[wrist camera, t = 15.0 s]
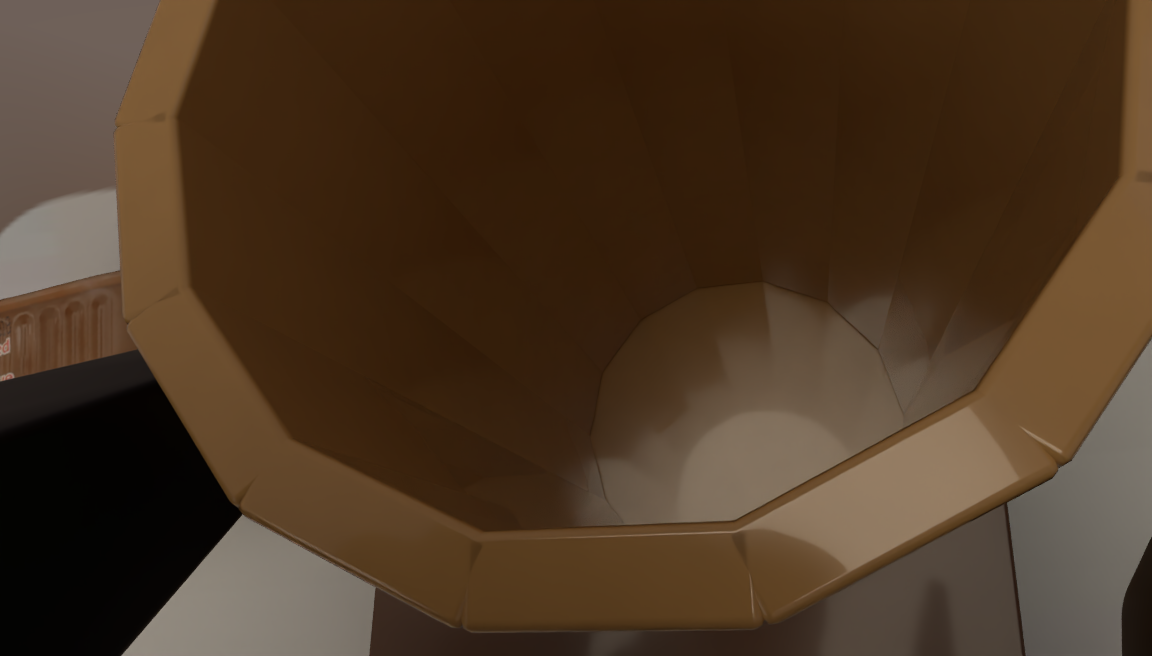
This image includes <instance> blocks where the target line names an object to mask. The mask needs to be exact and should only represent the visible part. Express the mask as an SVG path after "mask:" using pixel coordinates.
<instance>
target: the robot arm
mask: <svg viewBox="0 0 1152 656" xmlns="http://www.w3.org/2000/svg"><path fill="white" fill-rule="evenodd" d="M241 516H242V512H241V511H240V510H239V508H238V507H236V506H234V505H233V504H232V503H231V502H230V501H229V499H228V498H227V496H226V494H225V493H224V491H223V489H222V488H221V486H220V484H219V483H218V481H217V479H216V478H215V476H214V474H213V473H212V471H211V469H210V468H209V466H208V465H207V463H206V461H205V460H204V458H203V456H202V455H201V453H200V451H199V450H198V448H197V446H196V445H195V443H194V441H193V440H192V438H191V436H190V435H189V433H188V431H187V430H186V428H185V426H184V425H183V423H182V421H181V420H180V418H179V417H178V415H177V413H176V412H175V410H174V408H173V407H172V405H171V403H170V402H169V400H168V398H167V397H166V395H165V393H164V392H163V390H162V388H161V387H160V385H159V383H158V382H157V380H156V378H155V377H154V375H153V373H152V372H151V370H150V368H149V367H148V365H147V364H146V362H145V360H144V359H143V357H142V355H141V354H140V352H139V350H138V349H137V350H133V351H128V352H124V353H120V354H116V355H111V356H107V357H103V358H98V359H94V360H90V361H85V362H81V363H77V364H72V365H68V366H64V367H60V368H55V369H51V370H47V371H42V372H38V373H34V374H29V375H25V376H21V377H17V378H12V379H8V380H4V381H0V656H121V655H122V654H123V653H124V652H125V651H126V649H127V648H128V647H129V646H130V645H131V644H132V642H133V641H134V640H135V639H136V638H137V637H138V635H139V634H140V633H141V632H142V631H143V630H144V628H145V627H146V626H147V625H148V624H149V623H150V622H151V620H152V619H153V618H154V617H155V616H156V615H157V613H158V612H159V611H160V610H161V609H162V608H163V606H164V605H165V604H166V603H167V602H168V601H169V599H170V598H171V597H172V596H173V595H174V594H175V592H176V591H177V590H178V589H179V588H180V587H181V585H182V584H183V583H184V582H185V581H186V580H187V578H188V577H189V576H190V575H191V574H192V573H193V571H194V570H195V569H196V568H197V567H198V566H199V564H200V563H201V562H202V561H203V560H204V559H205V557H206V556H207V555H208V554H209V553H210V552H211V550H212V549H213V548H214V547H215V546H216V545H217V543H218V542H219V541H220V540H221V539H222V538H223V537H224V535H225V534H226V533H227V532H228V531H229V530H230V528H231V527H232V526H233V525H234V524H235V523H236V521H237V520H238V519H239V518H240V517H241ZM1122 656H1152V537H1151V539H1150V541H1149V543H1148V546H1147V548H1146V550H1145V552H1144V554H1143V556H1142V558H1141V561H1140V563H1139V565H1138V567H1137V569H1136V571H1135V573H1134V576H1133V578H1132V580H1131V582H1130V584H1129V586H1128V588H1127V591H1126V594H1125V597H1124V602H1123V607H1122Z"/></svg>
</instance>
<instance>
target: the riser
mask: <svg viewBox="0 0 1152 656" xmlns="http://www.w3.org/2000/svg"><path fill="white" fill-rule="evenodd" d="M369 656H1026V654H1025V646H1024V638H1023V629H1022V621H1021V613H1020V605H1019V597H1018V588H1017V580H1016V572H1015V564H1014V556H1013V547H1012V539H1011V531H1010V523H1009V515H1008V507H1007V503H1005V504H1003V505H1001V506H1000V507H998V508H996V509H994V510H992V511H990V512H988V513H986V514H985V515H983V516H981V517H979V518H977V519H975V520H973V521H971V522H970V523H968V524H966V525H964V526H962V527H960V528H958V529H956V530H954V531H953V532H951V533H949V534H947V535H945V536H943V537H941V538H939V539H938V540H936V541H934V542H932V543H930V544H928V545H926V546H924V547H923V548H921V549H919V550H917V551H915V552H913V553H911V554H909V555H908V556H906V557H904V558H902V559H900V560H898V561H896V562H894V563H893V564H891V565H889V566H887V567H885V568H883V569H881V570H879V571H877V572H876V573H874V574H872V575H870V576H868V577H866V578H864V579H862V580H861V581H859V582H857V583H855V584H853V585H851V586H849V587H847V588H846V589H844V590H842V591H840V592H838V593H836V594H834V595H832V596H831V597H829V598H827V599H825V600H823V601H821V602H819V603H817V604H815V605H814V606H812V607H810V608H808V609H806V610H804V611H802V612H800V613H799V614H797V615H795V616H793V617H791V618H789V619H787V620H785V621H784V622H782V623H780V624H771V625H769V624H767V625H765V626H762V627H760V628H758V629H755V630H731V631H639V632H547V633H471V632H469V631H466V630H464V628H450V627H448V626H446V625H444V624H442V623H441V622H439V621H437V620H435V619H433V618H431V617H429V616H428V615H426V614H424V613H422V612H420V611H418V610H417V609H415V608H413V607H411V606H409V605H407V604H405V603H404V602H402V601H400V600H398V599H396V598H394V597H392V596H391V595H389V594H387V593H385V592H383V591H381V590H380V589H378V588H376V589H375V600H374V611H373V622H372V633H371V644H370V655H369Z"/></svg>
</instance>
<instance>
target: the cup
mask: <svg viewBox="0 0 1152 656" xmlns="http://www.w3.org/2000/svg"><path fill="white" fill-rule="evenodd" d="M115 126H116V127H117V128H116V130H115V131H114V154H115V174H116V194H117V213H118V233H119V253H120V273H121V293H122V312H123V318H124V320H125V322H126V323H127V324H128V325H127V332H128V334H129V335H130V337H131V339H132V340H133V342H134V344H135V345H136V347H137V349H138V350H139V352H140V354H141V355H142V357H143V359H144V360H145V362H146V364H147V365H148V367H149V368H150V370H151V372H152V373H153V375H154V377H155V378H156V380H157V382H158V383H159V385H160V387H161V388H162V390H163V392H164V393H165V395H166V397H167V398H168V400H169V402H170V403H171V405H172V407H173V408H174V410H175V412H176V413H177V415H178V417H179V418H180V420H181V421H182V423H183V425H184V426H185V428H186V430H187V431H188V433H189V435H190V436H191V438H192V440H193V441H194V443H195V445H196V446H197V448H198V450H199V451H200V453H201V455H202V456H203V458H204V460H205V461H206V463H207V465H208V466H209V468H210V469H211V471H212V473H213V474H214V476H215V478H216V479H217V481H218V483H219V484H220V486H221V488H222V489H223V491H224V493H225V494H226V496H227V498H228V499H229V501H230V502H231V503H232V504H233V505H234V506H236V507H238V508H239V510H240V511H241V512H242V514H243V515H244V516H245V517H246V518H248V519H250V520H252V521H254V522H256V523H258V524H259V525H261V526H263V527H265V528H267V529H269V530H270V531H272V532H274V533H276V534H278V535H280V536H282V537H283V538H285V539H287V540H289V541H291V542H293V543H295V544H296V545H298V546H300V547H302V548H304V549H306V550H307V551H309V552H311V553H313V554H315V555H317V556H319V557H320V558H322V559H324V560H326V561H328V562H330V563H331V564H333V565H335V566H337V567H339V568H341V569H343V570H344V571H346V572H348V573H350V574H352V575H354V576H356V577H357V578H359V579H361V580H363V581H365V582H367V583H368V584H370V585H372V586H374V587H376V588H378V589H380V590H381V591H383V592H385V593H387V594H389V595H391V596H392V597H394V598H396V599H398V600H400V601H402V602H404V603H405V604H407V605H409V606H411V607H413V608H415V609H417V610H418V611H420V612H422V613H424V614H426V615H428V616H429V617H431V618H433V619H435V620H437V621H439V622H441V623H442V624H444V625H446V626H448V627H450V628H464V630H466V631H469V632H471V633H547V632H639V631H731V630H755V629H758V628H760V627H762V626H765V625H767V624H769V625H771V624H780V623H782V622H784V621H785V620H787V619H789V618H791V617H793V616H795V615H797V614H799V613H800V612H802V611H804V610H806V609H808V608H810V607H812V606H814V605H815V604H817V603H819V602H821V601H823V600H825V599H827V598H829V597H831V596H832V595H834V594H836V593H838V592H840V591H842V590H844V589H846V588H847V587H849V586H851V585H853V584H855V583H857V582H859V581H861V580H862V579H864V578H866V577H868V576H870V575H872V574H874V573H876V572H877V571H879V570H881V569H883V568H885V567H887V566H889V565H891V564H893V563H894V562H896V561H898V560H900V559H902V558H904V557H906V556H908V555H909V554H911V553H913V552H915V551H917V550H919V549H921V548H923V547H924V546H926V545H928V544H930V543H932V542H934V541H936V540H938V539H939V538H941V537H943V536H945V535H947V534H949V533H951V532H953V531H954V530H956V529H958V528H960V527H962V526H964V525H966V524H968V523H970V522H971V521H973V520H975V519H977V518H979V517H981V516H983V515H985V514H986V513H988V512H990V511H992V510H994V509H996V508H998V507H1000V506H1001V505H1003V504H1005V503H1007V502H1009V501H1011V500H1013V499H1015V498H1016V497H1018V496H1020V495H1022V494H1024V493H1026V492H1028V491H1030V490H1032V489H1033V488H1035V487H1037V486H1039V485H1041V484H1043V483H1045V482H1047V481H1048V480H1050V479H1052V478H1053V477H1054V476H1055V474H1056V473H1057V472H1058V468H1060V467H1062V466H1063V465H1065V464H1067V463H1068V462H1070V461H1072V459H1073V458H1074V456H1075V455H1076V453H1077V452H1078V450H1079V449H1080V447H1081V446H1082V444H1083V443H1084V441H1085V440H1086V438H1087V437H1088V435H1089V433H1090V432H1091V430H1092V429H1093V427H1094V426H1095V424H1096V423H1097V421H1098V420H1099V418H1100V417H1101V415H1102V414H1103V412H1104V411H1105V409H1106V408H1107V406H1108V405H1109V403H1110V401H1111V400H1112V398H1113V397H1114V395H1115V394H1116V392H1117V391H1118V389H1119V388H1120V386H1121V385H1122V383H1123V382H1124V380H1125V379H1126V377H1127V376H1128V374H1129V373H1130V371H1131V369H1132V368H1133V366H1134V365H1135V363H1136V362H1137V360H1138V359H1139V357H1140V356H1141V354H1142V353H1143V351H1144V350H1145V348H1146V347H1147V345H1148V344H1149V342H1150V341H1151V339H1152V0H160V1H159V4H158V7H157V9H156V12H155V15H154V17H153V20H152V23H151V25H150V28H149V31H148V33H147V36H146V39H145V41H144V44H143V47H142V49H141V52H140V54H139V57H138V60H137V62H136V65H135V68H134V70H133V73H132V76H131V78H130V81H129V84H128V87H127V89H126V92H125V95H124V97H123V100H122V103H121V105H120V108H119V110H118V113H117V116H116V118H115Z"/></svg>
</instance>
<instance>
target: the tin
mask: <svg viewBox="0 0 1152 656" xmlns="http://www.w3.org/2000/svg"><path fill="white" fill-rule="evenodd" d="M127 325H128V324H127V323H126V322H125V320H124V318H123V312H122V293H121V273H120V271H115V272H111V273H106V274H101V275H96V276H92V277H88V278H85V279H80V280H76V281H72V282H69V283H65V284H61V285H57V286H53V287H49V288H46V289H42V290H38V291H35V292H31V293H27V294H23V295H19V296H15V297H11V298H6V299H2V300H0V381H4V380H8V379H12V378H17V377H21V376H25V375H29V374H34V373H38V372H42V371H47V370H51V369H55V368H60V367H64V366H68V365H72V364H77V363H81V362H85V361H90V360H94V359H98V358H103V357H107V356H111V355H116V354H120V353H124V352H128V351H133V350H137V347H136V345H135V344H134V342H133V340H132V339H131V337H130V335H129V334H128V332H127Z"/></svg>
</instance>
